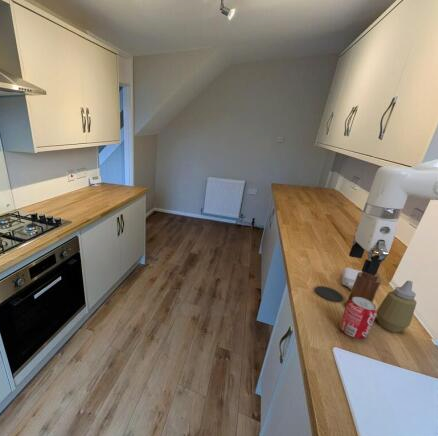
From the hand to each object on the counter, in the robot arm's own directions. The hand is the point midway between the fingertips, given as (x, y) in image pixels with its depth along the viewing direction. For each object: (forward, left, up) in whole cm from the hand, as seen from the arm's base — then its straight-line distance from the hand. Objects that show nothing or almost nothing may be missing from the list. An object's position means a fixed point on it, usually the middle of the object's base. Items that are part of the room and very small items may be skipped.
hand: (361, 264), depth 72 cm
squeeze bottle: (-8, -15, -24) cm, 30 cm away
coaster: (+10, -16, -24) cm, 31 cm away
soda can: (-4, -1, -24) cm, 24 cm away
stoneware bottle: (+1, -16, -24) cm, 29 cm away
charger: (+8, -31, -24) cm, 40 cm away
